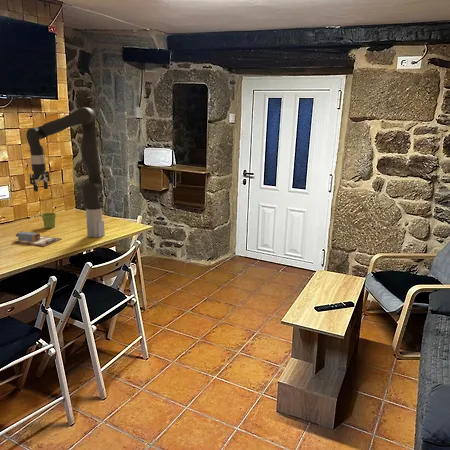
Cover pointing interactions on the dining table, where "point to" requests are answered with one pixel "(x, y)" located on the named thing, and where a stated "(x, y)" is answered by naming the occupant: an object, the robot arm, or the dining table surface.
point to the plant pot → (49, 219)
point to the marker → (28, 236)
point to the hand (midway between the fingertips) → (41, 190)
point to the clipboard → (40, 241)
